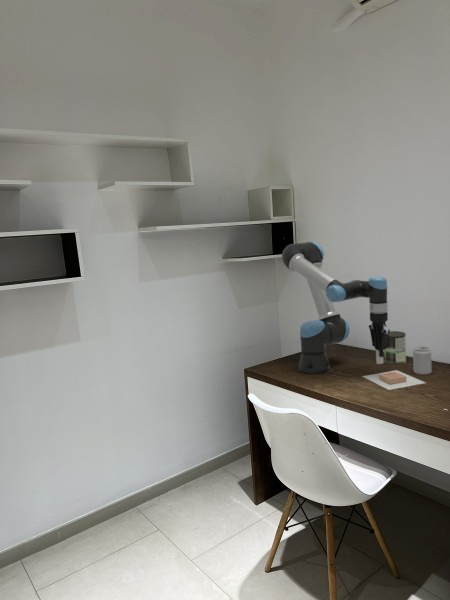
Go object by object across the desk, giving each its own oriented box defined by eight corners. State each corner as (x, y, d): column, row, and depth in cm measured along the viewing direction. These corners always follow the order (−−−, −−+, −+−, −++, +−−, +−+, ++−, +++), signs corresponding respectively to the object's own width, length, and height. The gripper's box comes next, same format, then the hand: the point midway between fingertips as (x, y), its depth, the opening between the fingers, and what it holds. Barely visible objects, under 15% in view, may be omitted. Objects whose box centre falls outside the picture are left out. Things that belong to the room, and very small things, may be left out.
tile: (379, 374, 202) (390, 379, 194) (394, 371, 204) (406, 376, 196) (379, 379, 202) (390, 384, 195) (395, 376, 204) (406, 381, 197)
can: (434, 372, 208) (433, 346, 206) (428, 377, 202) (427, 350, 200) (417, 369, 213) (416, 344, 211) (410, 374, 207) (410, 348, 206)
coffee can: (384, 364, 225) (383, 336, 223) (383, 358, 235) (382, 331, 233) (407, 364, 222) (406, 335, 220) (405, 358, 232) (404, 330, 230)
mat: (362, 377, 208) (362, 376, 208) (396, 371, 213) (396, 370, 213) (389, 391, 189) (388, 389, 189) (426, 384, 194) (426, 382, 194)
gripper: (363, 310, 209) (364, 360, 213) (379, 315, 197) (380, 368, 200) (377, 308, 211) (378, 358, 215) (394, 313, 198) (395, 365, 202)
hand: (379, 363), depth 207 cm, fingers closed
